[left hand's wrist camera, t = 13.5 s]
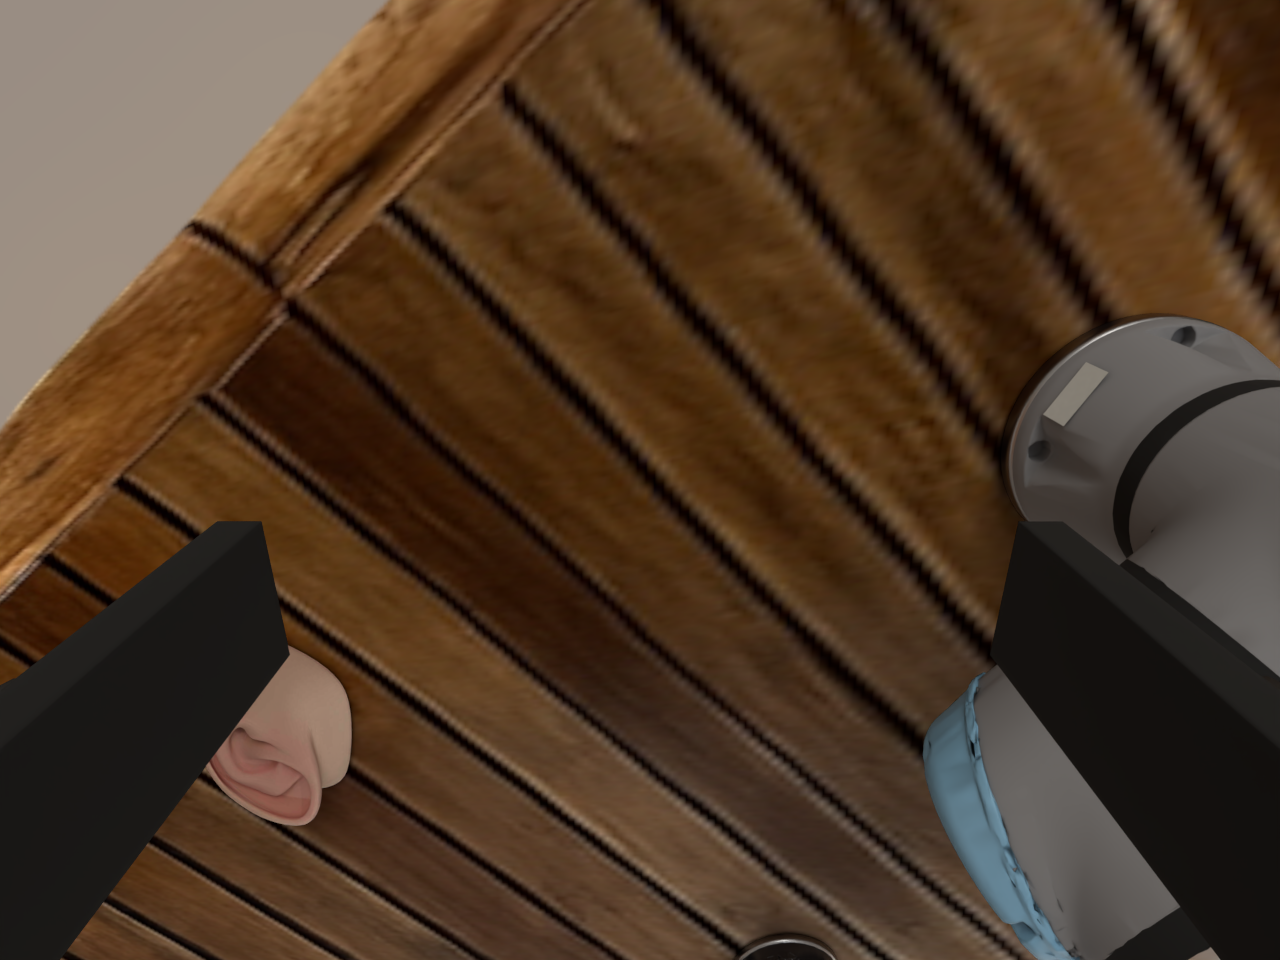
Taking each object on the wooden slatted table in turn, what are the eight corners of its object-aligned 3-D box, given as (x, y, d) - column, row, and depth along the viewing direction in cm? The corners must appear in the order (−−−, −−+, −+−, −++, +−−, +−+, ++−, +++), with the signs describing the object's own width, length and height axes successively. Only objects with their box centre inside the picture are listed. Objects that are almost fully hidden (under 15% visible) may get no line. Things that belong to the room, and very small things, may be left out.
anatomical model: (171, 653, 46) (350, 698, 47) (205, 619, 50) (371, 661, 51) (156, 804, 51) (320, 841, 52) (189, 762, 54) (341, 798, 56)
